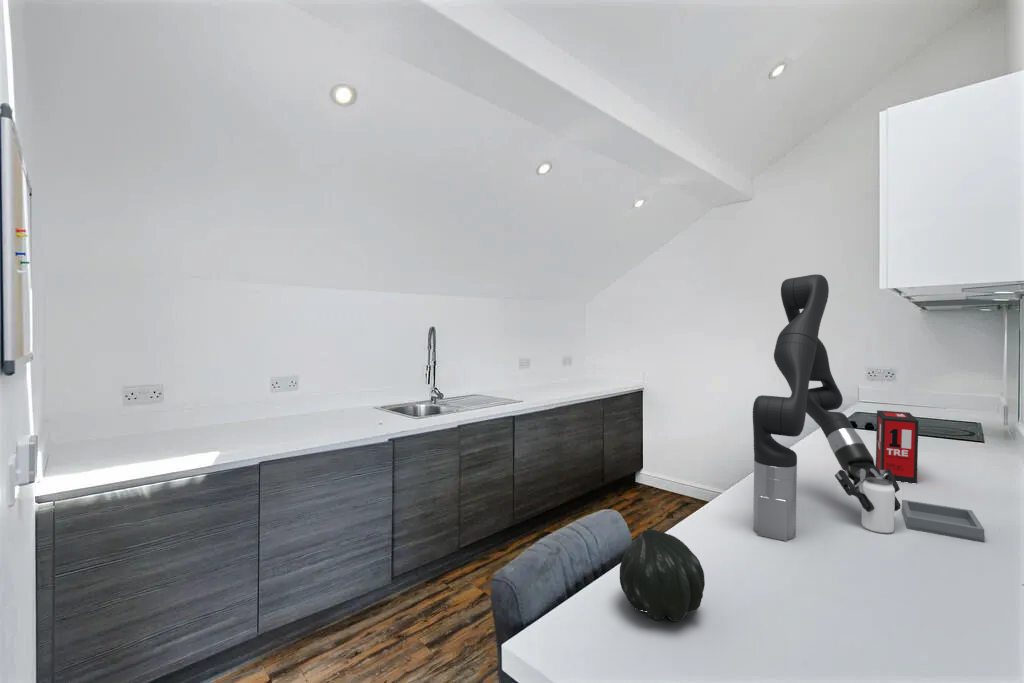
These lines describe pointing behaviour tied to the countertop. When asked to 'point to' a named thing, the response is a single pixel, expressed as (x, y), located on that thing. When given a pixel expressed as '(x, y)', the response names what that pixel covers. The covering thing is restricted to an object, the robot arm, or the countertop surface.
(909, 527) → the tray
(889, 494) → the can
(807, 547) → the countertop surface
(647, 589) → the squash
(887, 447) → the cleaning product box
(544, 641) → the countertop surface
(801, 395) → the robot arm
